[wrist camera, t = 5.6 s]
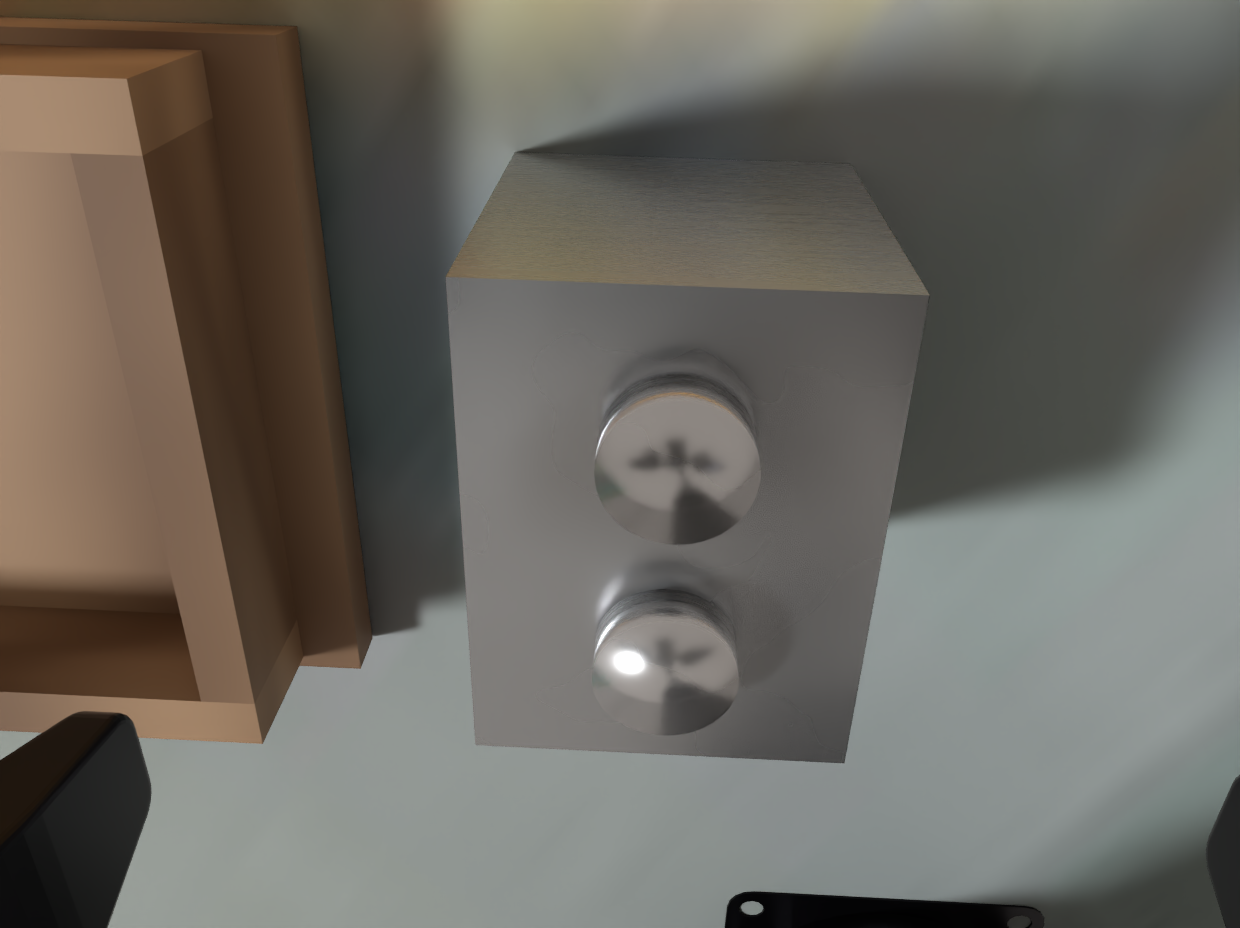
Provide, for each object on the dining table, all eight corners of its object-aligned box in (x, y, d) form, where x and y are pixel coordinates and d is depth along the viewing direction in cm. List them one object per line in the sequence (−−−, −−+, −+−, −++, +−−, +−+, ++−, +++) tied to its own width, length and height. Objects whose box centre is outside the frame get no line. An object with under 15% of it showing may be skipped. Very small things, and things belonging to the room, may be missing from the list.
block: (515, 150, 14) (432, 300, 9) (849, 162, 14) (945, 319, 9) (525, 521, 17) (466, 782, 12) (799, 533, 17) (851, 801, 12)
